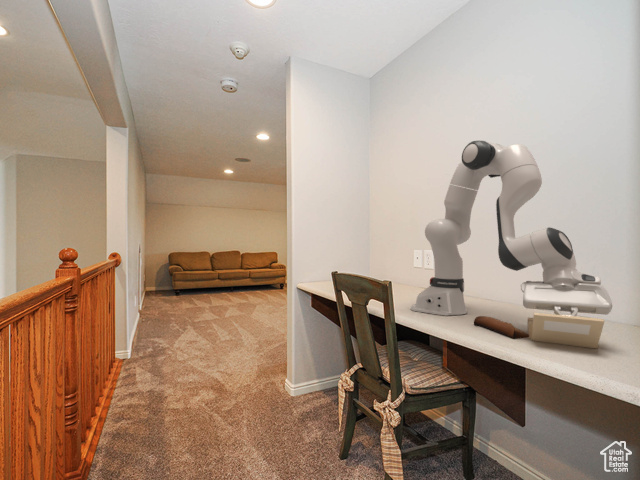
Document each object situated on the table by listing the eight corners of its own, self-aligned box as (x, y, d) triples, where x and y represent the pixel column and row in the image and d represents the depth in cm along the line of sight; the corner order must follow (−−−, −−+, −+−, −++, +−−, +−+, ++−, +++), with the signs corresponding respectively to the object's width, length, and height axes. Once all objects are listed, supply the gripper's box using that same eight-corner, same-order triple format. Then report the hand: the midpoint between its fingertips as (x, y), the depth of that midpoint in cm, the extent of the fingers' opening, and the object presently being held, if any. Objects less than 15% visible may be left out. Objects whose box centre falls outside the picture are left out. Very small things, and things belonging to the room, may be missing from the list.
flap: (531, 341, 96) (534, 315, 89) (531, 338, 97) (533, 312, 90) (596, 349, 89) (604, 321, 82) (596, 346, 89) (603, 319, 83)
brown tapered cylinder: (537, 338, 99) (527, 320, 98) (520, 351, 97) (510, 333, 97) (493, 323, 116) (485, 308, 115) (478, 334, 115) (470, 319, 114)
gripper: (520, 274, 99) (523, 312, 91) (607, 277, 89) (619, 320, 81) (520, 287, 103) (522, 324, 95) (603, 291, 93) (613, 333, 85)
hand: (567, 322), depth 88 cm, fingers closed, pressing on flap
